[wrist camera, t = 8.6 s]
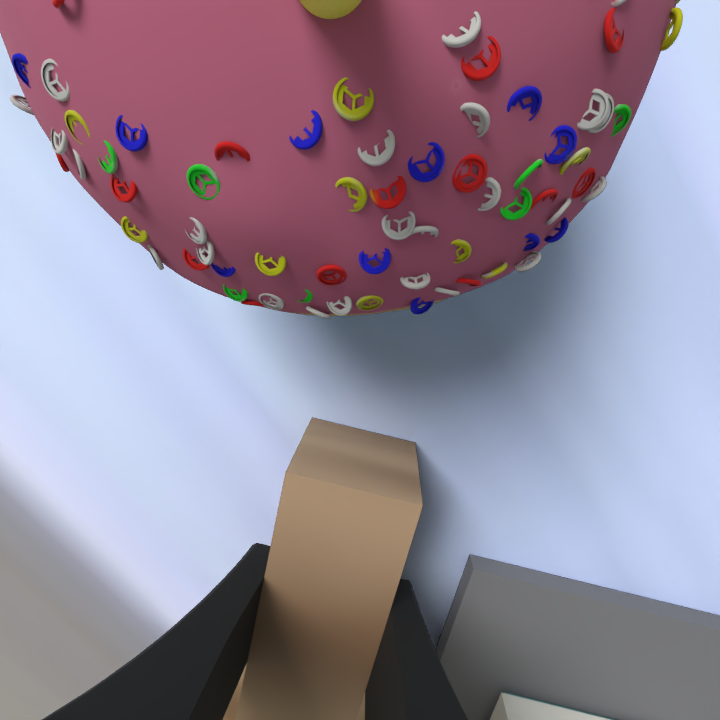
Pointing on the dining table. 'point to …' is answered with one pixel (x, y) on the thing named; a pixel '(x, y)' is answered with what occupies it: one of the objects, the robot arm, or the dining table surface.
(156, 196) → the cupcake
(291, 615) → the overlapping tan boards
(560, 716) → the block
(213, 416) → the dining table surface
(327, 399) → the dining table surface
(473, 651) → the mat
